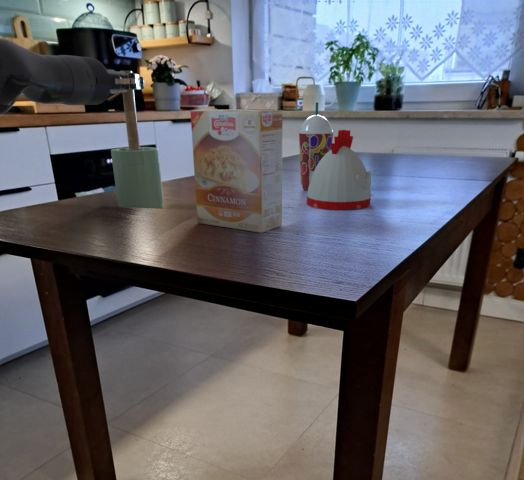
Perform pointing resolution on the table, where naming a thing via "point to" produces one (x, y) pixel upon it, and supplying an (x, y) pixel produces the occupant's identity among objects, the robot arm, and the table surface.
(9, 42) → the robot arm
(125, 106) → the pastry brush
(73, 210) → the table surface
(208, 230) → the table surface
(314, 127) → the smoothie
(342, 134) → the kitchen timer
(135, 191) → the green canister
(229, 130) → the coffeecake box
